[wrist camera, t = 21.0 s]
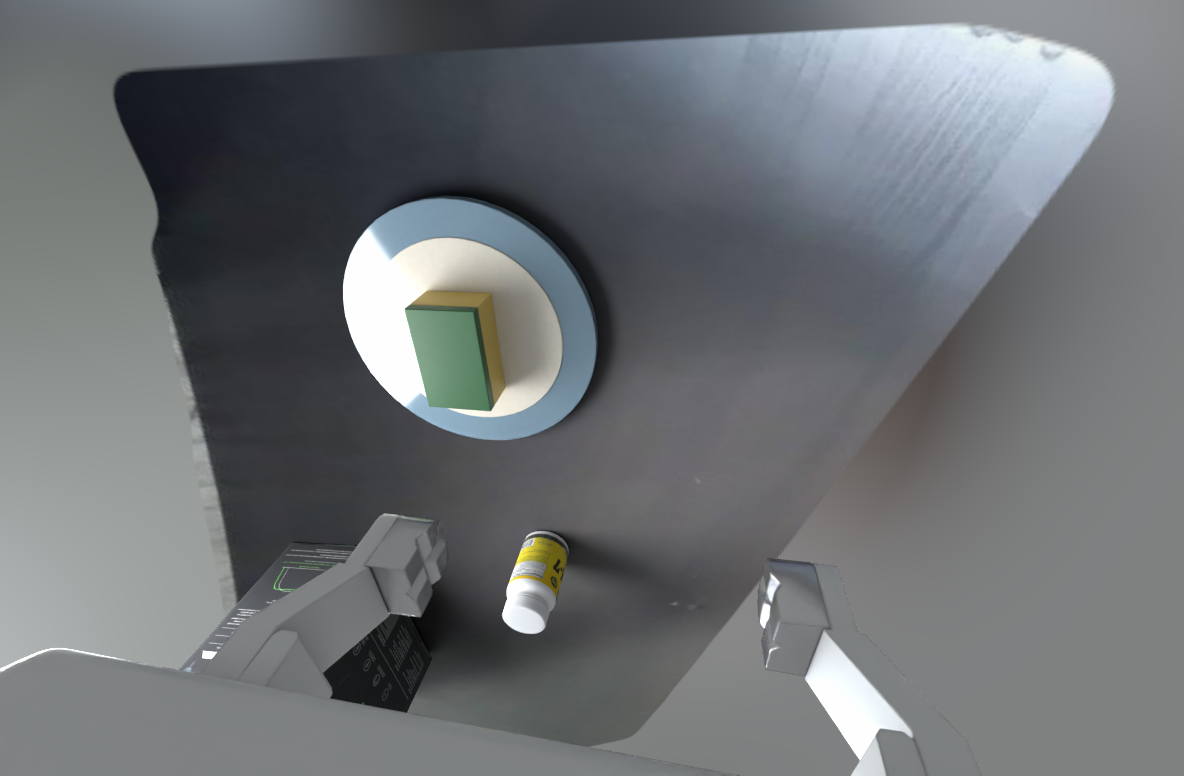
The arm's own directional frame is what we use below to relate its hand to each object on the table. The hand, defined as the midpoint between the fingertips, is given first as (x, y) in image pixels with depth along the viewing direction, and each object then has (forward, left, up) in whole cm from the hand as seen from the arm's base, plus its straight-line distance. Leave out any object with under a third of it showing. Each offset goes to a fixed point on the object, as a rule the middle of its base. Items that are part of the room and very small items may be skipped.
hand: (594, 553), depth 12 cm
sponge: (+6, -14, -23) cm, 28 cm away
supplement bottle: (+30, -10, -24) cm, 40 cm away
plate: (+6, -14, -24) cm, 28 cm away
